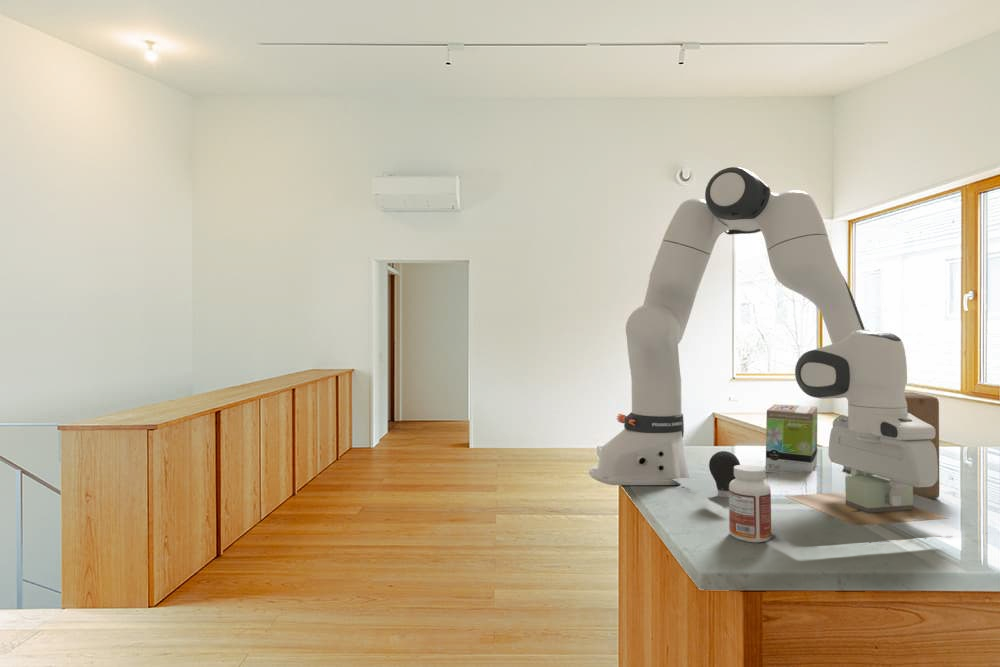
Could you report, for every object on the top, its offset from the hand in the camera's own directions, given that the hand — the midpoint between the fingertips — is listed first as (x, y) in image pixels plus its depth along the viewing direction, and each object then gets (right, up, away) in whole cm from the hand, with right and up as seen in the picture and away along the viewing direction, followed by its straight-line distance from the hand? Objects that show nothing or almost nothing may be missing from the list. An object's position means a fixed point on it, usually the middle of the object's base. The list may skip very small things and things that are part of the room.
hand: (877, 499), depth 102 cm
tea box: (+3, -3, +35) cm, 35 cm away
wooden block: (+14, -3, +15) cm, 21 cm away
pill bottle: (-27, -3, -10) cm, 29 cm away
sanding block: (0, -1, 0) cm, 1 cm away
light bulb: (-24, -3, +8) cm, 26 cm away
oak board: (-2, -3, +1) cm, 4 cm away
